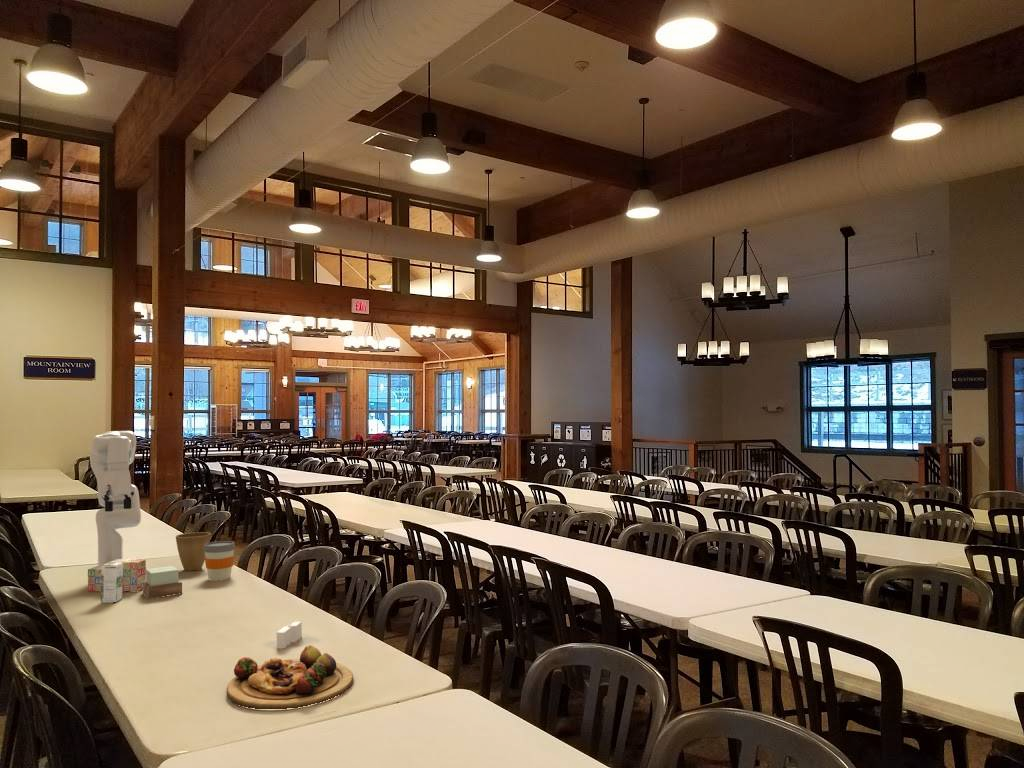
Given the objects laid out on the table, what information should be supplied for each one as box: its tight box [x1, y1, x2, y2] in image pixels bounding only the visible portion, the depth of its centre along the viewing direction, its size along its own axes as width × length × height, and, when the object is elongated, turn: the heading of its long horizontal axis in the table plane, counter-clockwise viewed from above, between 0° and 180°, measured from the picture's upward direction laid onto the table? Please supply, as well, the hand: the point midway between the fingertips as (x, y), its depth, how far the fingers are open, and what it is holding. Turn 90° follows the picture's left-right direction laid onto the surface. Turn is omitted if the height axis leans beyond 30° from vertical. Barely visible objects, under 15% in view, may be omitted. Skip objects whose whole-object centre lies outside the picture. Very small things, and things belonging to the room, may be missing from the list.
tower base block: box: [142, 579, 183, 600], centre depth 298 cm, size 12×12×5 cm
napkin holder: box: [276, 621, 303, 649], centre depth 233 cm, size 15×11×6 cm
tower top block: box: [146, 565, 180, 586], centre depth 298 cm, size 10×10×5 cm
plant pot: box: [175, 531, 211, 572], centre depth 343 cm, size 15×15×16 cm
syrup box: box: [100, 562, 124, 604], centre depth 287 cm, size 6×6×14 cm
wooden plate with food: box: [225, 645, 354, 709], centre depth 196 cm, size 32×32×8 cm
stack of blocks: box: [87, 558, 147, 593], centre depth 305 cm, size 21×6×12 cm, turn 85°
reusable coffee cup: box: [204, 540, 236, 581], centre depth 324 cm, size 13×13×15 cm
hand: (118, 510), depth 298 cm, fingers open, 9 cm apart
